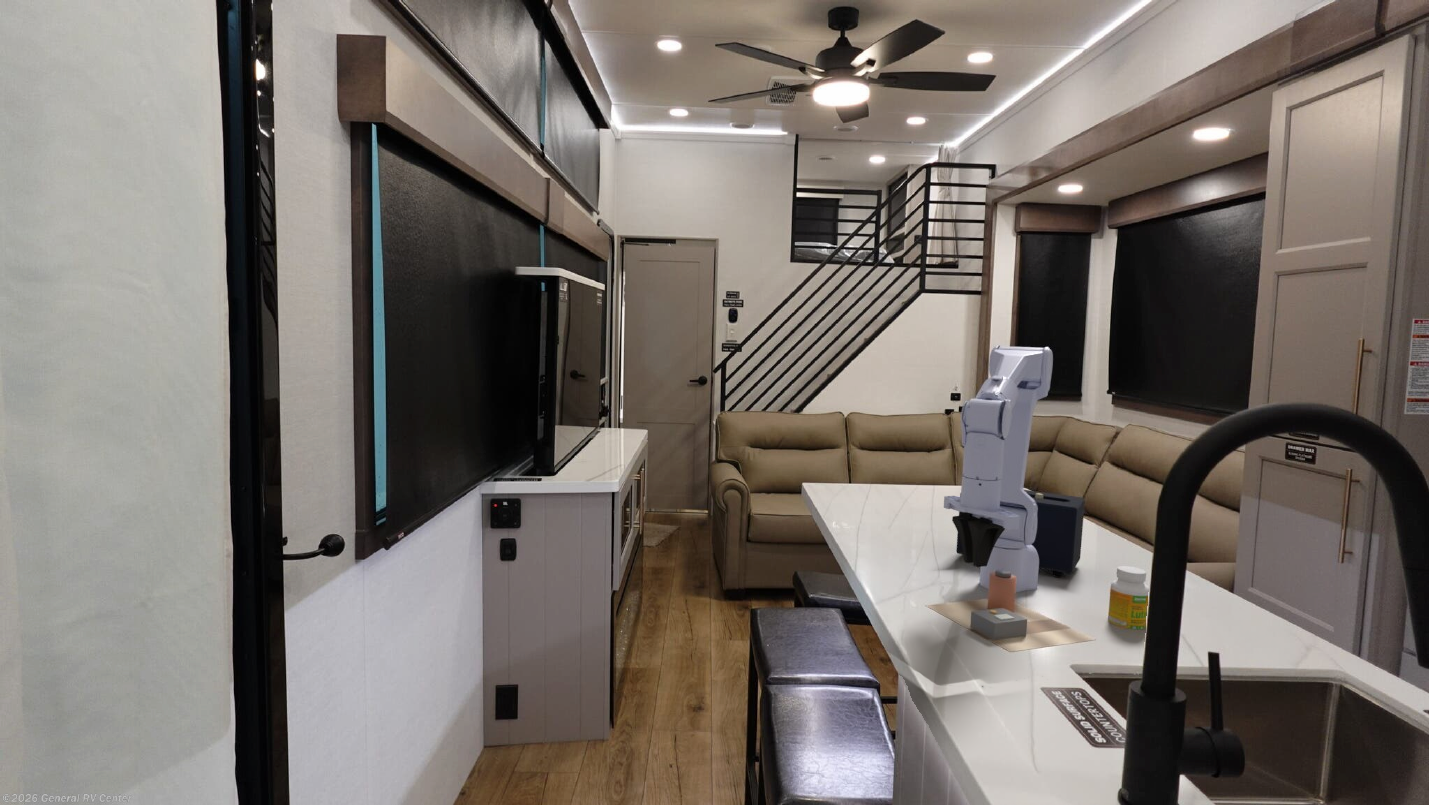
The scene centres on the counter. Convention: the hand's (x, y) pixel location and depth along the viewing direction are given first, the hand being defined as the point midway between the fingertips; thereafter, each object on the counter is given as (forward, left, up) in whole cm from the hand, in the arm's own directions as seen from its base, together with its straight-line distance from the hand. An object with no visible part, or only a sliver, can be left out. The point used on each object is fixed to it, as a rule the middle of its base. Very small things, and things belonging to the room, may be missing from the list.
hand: (975, 564), depth 116 cm
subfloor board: (-4, +3, -10) cm, 11 cm away
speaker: (-34, -26, -10) cm, 44 cm away
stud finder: (0, +6, -9) cm, 10 cm away
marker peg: (-6, -1, -9) cm, 11 cm away
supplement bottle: (-24, +8, -10) cm, 27 cm away
